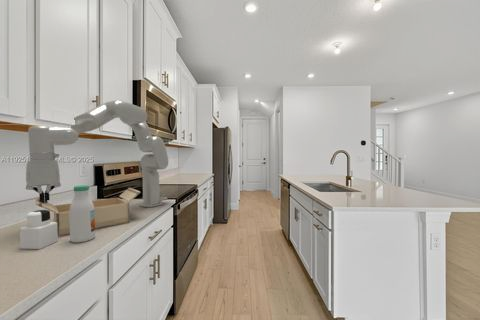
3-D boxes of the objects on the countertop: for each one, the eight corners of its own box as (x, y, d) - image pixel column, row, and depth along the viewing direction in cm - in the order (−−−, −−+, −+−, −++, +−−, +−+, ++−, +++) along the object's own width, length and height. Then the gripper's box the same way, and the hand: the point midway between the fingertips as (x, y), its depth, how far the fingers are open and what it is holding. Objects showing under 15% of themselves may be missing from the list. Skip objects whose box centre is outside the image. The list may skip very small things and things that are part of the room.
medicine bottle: (39, 240, 82) (38, 208, 82) (58, 241, 82) (57, 208, 82) (19, 249, 75) (18, 213, 75) (39, 249, 75) (38, 213, 75)
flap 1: (52, 204, 99) (36, 196, 95) (55, 211, 87) (37, 203, 83) (51, 205, 99) (35, 198, 95) (54, 212, 86) (35, 204, 83)
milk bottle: (85, 243, 80) (84, 187, 79) (64, 243, 80) (62, 187, 79) (99, 235, 88) (98, 184, 87) (80, 235, 88) (78, 184, 87)
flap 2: (119, 197, 117) (130, 188, 120) (129, 202, 105) (140, 192, 108) (118, 196, 117) (129, 187, 120) (128, 201, 104) (139, 191, 108)
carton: (118, 214, 118) (117, 197, 118) (129, 222, 103) (129, 203, 103) (53, 225, 100) (53, 205, 100) (57, 237, 86) (56, 213, 86)
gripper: (65, 156, 98) (66, 198, 98) (16, 157, 88) (19, 204, 88) (66, 156, 92) (68, 201, 93) (15, 158, 82) (18, 207, 83)
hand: (44, 202), depth 91 cm, fingers closed
